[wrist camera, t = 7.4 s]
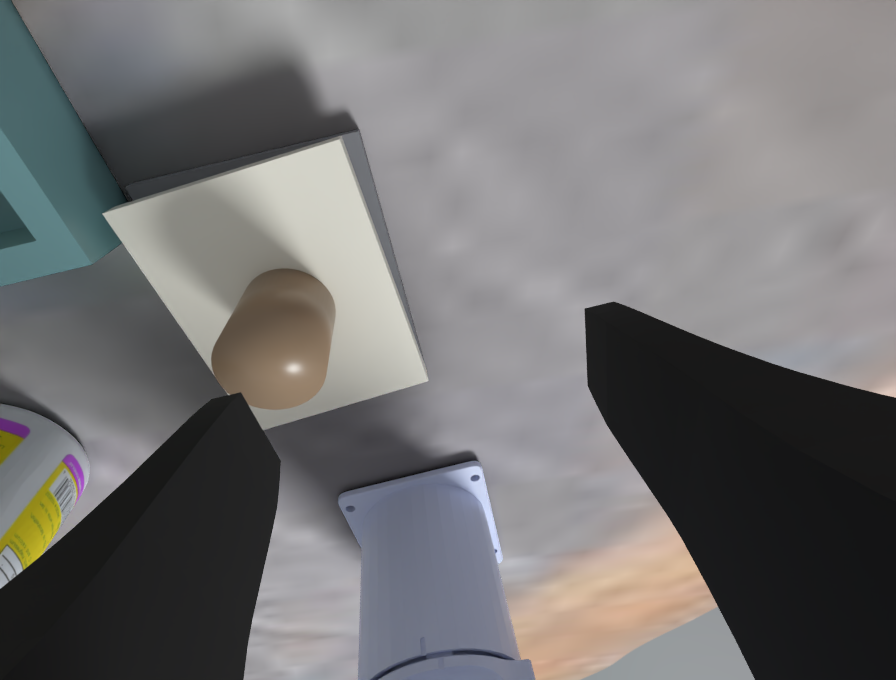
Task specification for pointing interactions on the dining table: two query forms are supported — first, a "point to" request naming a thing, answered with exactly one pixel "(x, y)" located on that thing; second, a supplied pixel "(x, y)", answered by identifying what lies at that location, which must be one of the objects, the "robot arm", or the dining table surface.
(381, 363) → the lid
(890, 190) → the dining table surface
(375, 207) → the pad
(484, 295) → the dining table surface
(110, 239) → the box
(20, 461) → the supplement bottle
